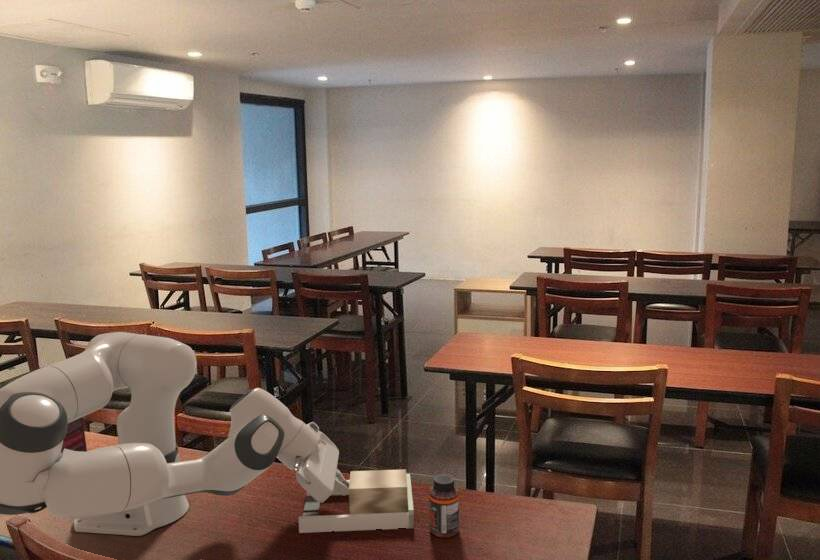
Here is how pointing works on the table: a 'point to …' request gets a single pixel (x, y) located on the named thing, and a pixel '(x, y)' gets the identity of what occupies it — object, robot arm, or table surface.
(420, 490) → the table surface
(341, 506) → the table surface
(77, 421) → the supplement box
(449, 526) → the supplement bottle
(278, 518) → the table surface
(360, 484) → the birch block
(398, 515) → the box
